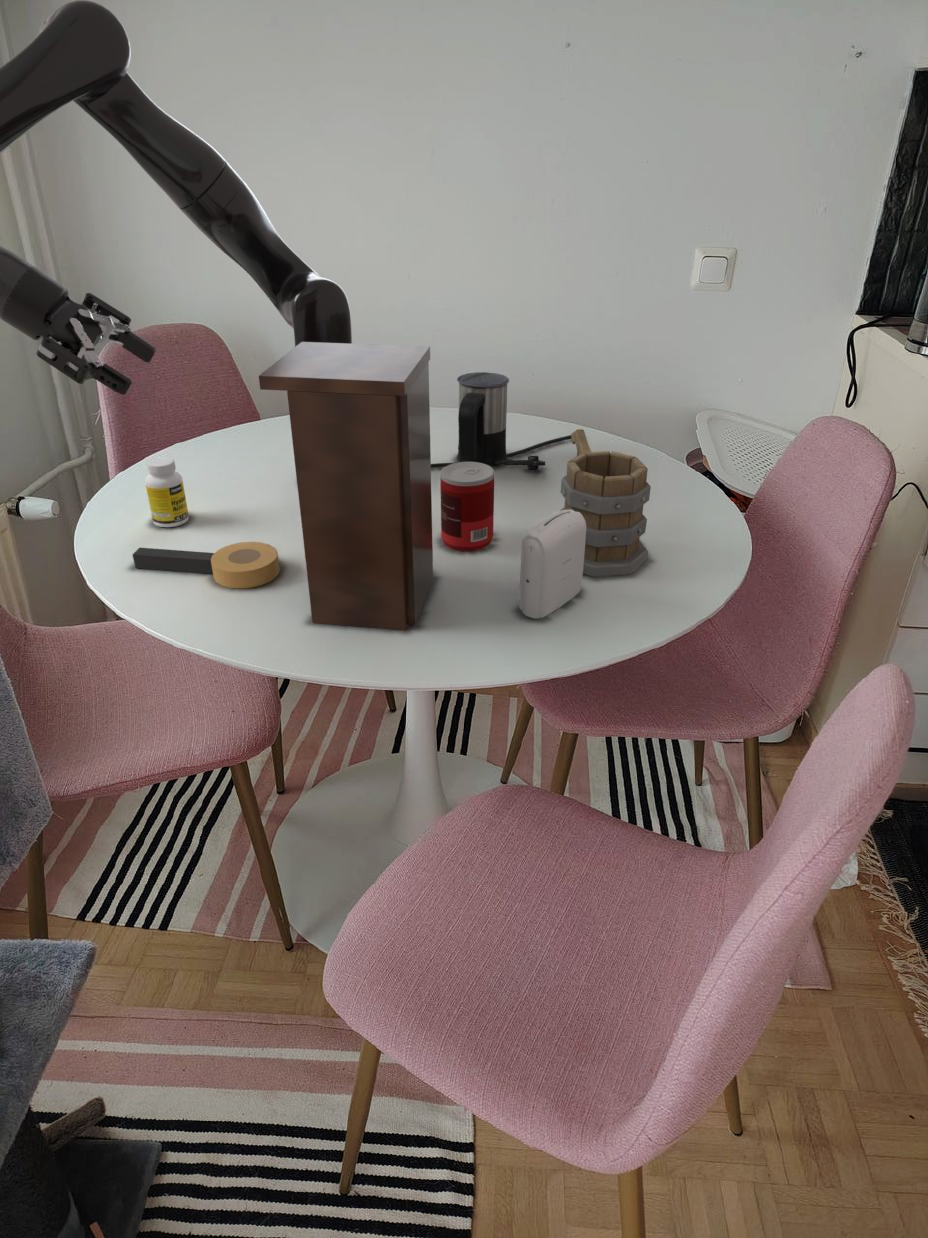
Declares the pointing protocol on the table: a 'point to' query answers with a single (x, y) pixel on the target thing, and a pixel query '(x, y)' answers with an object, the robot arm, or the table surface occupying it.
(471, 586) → the table surface
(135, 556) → the disc with black handle
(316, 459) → the wooden cabinet
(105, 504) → the table surface
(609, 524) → the tankard
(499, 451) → the milk frother
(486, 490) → the canned food
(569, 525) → the photo printer
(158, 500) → the supplement bottle
